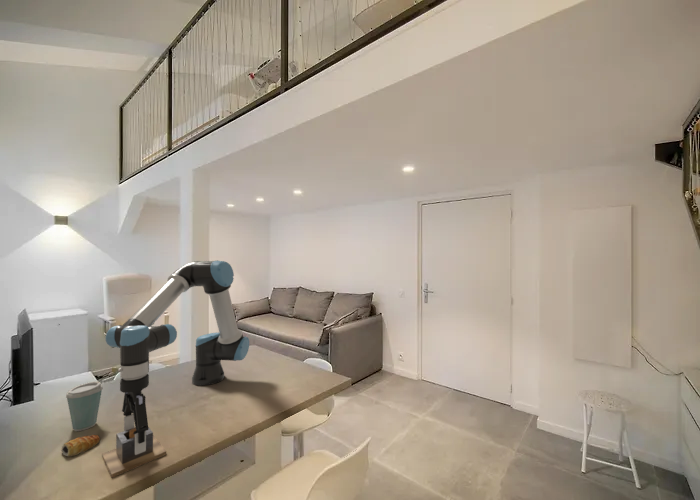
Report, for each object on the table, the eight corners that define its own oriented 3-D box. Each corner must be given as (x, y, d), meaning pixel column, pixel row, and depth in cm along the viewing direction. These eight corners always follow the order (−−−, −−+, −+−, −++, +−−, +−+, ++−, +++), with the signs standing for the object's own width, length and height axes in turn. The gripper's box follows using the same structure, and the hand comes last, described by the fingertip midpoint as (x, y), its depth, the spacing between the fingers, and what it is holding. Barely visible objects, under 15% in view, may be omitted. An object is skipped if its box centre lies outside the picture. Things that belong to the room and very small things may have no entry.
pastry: (94, 438, 108) (94, 427, 108) (103, 444, 105) (104, 432, 105) (59, 453, 99) (59, 441, 100) (68, 460, 96) (69, 447, 96)
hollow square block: (116, 453, 97) (116, 433, 98) (145, 441, 103) (145, 423, 103) (122, 464, 92) (122, 443, 92) (152, 451, 98) (153, 432, 98)
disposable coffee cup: (71, 437, 108) (71, 394, 108) (60, 429, 114) (60, 388, 114) (107, 423, 117) (107, 383, 117) (95, 416, 123) (96, 378, 123)
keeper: (102, 457, 97) (102, 431, 97) (153, 437, 107) (153, 414, 108) (111, 477, 88) (111, 449, 88) (166, 454, 98) (166, 428, 98)
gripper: (111, 370, 104) (111, 433, 103) (130, 390, 87) (130, 467, 86) (138, 364, 109) (137, 424, 109) (160, 382, 93) (160, 454, 92)
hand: (134, 443), depth 98 cm, fingers open, 13 cm apart
